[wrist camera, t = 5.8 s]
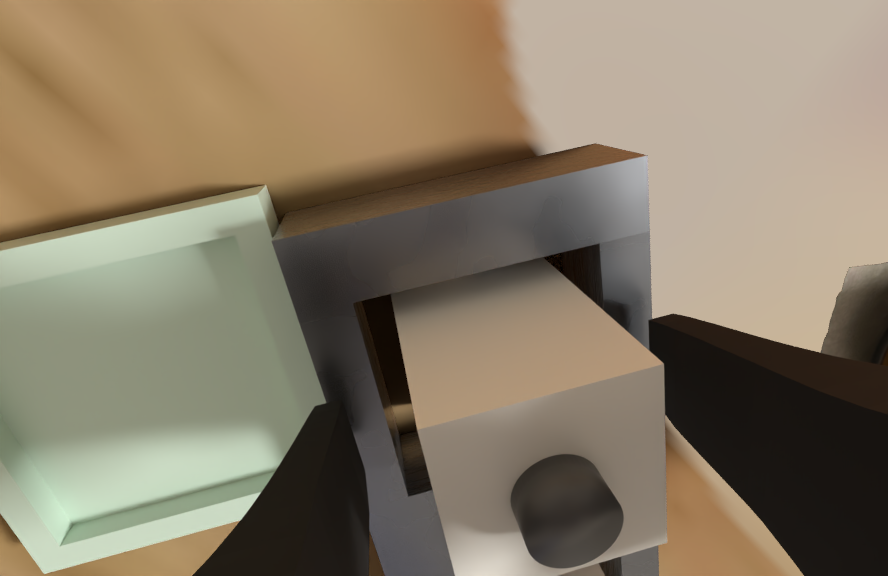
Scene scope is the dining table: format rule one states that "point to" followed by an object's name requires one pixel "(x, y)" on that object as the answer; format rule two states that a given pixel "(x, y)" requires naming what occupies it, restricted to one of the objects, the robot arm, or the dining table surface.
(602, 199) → the small drawer cabinet
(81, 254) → the tray
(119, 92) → the dining table surface
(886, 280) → the condiment
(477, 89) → the dining table surface
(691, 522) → the dining table surface
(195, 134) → the dining table surface
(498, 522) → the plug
